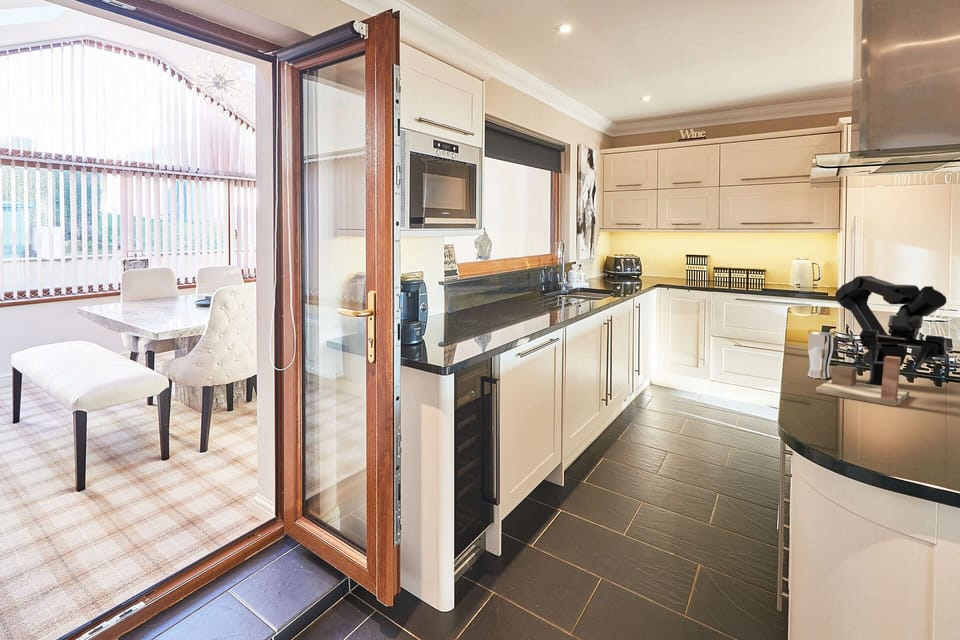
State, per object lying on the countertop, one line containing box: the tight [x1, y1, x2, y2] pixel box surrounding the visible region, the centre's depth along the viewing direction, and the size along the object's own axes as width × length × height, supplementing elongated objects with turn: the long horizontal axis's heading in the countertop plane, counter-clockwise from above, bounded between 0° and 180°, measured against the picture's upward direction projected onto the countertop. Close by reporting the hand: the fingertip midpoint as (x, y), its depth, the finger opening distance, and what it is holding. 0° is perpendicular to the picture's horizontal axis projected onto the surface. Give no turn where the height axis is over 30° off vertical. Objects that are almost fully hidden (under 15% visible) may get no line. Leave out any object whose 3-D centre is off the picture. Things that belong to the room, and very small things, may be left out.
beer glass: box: [807, 331, 834, 380], centre depth 168 cm, size 7×7×15 cm
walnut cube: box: [831, 364, 858, 387], centre depth 154 cm, size 5×5×5 cm
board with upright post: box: [815, 356, 910, 407], centre depth 147 cm, size 15×19×13 cm
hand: (893, 365), depth 140 cm, fingers open, 9 cm apart
